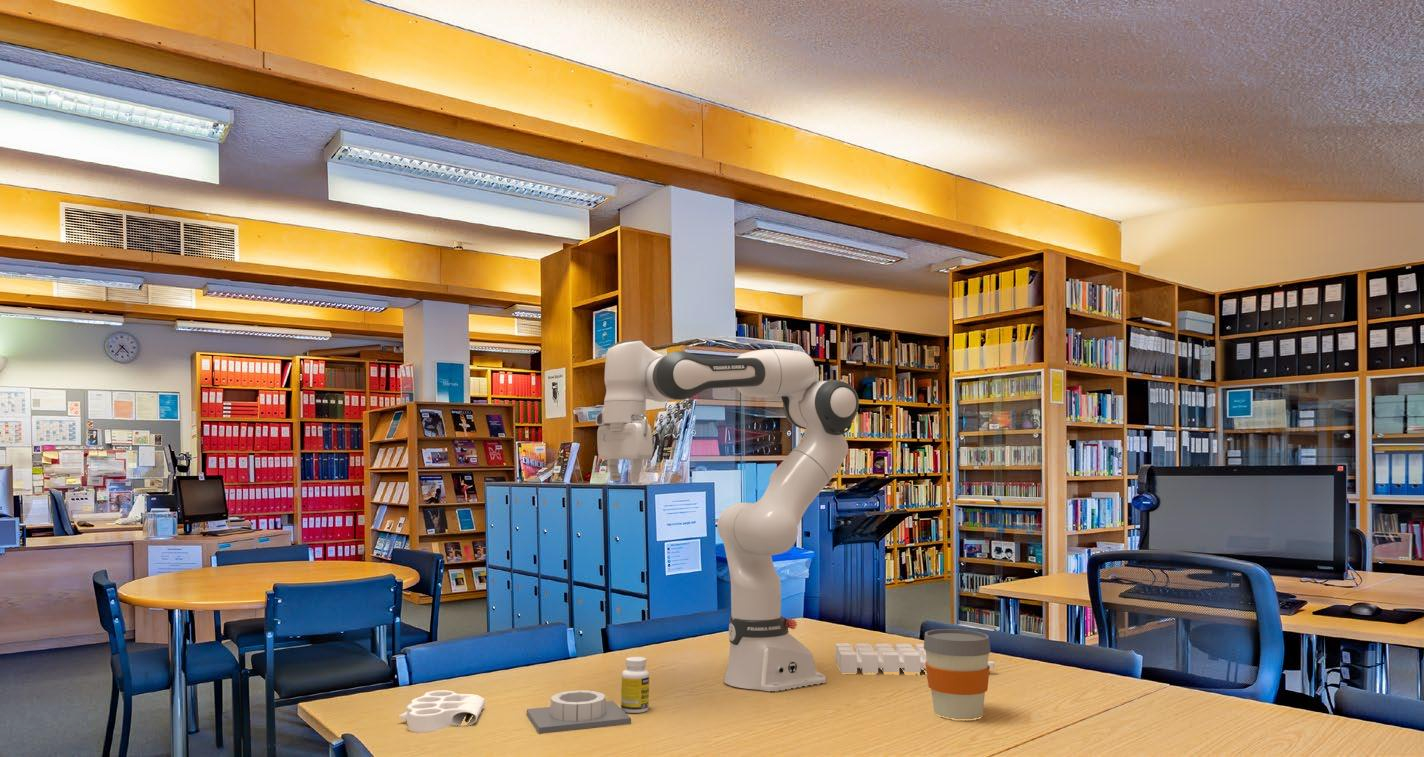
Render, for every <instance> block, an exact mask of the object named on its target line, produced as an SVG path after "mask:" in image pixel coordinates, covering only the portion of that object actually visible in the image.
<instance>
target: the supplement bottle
mask: <svg viewBox="0 0 1424 757" xmlns="http://www.w3.org/2000/svg"><path fill="white" fill-rule="evenodd" d="M646 666H647V658H645V657H643V656H630V657H629V656H628V657H627V658H626V659H625V667H626V669H624V670H623V671H622V673H621V688H620V689H621V691H620V692H621V694H620V697H621V698H620V708H621V709H622V710H623V711H624V712H625V713H626V714H627V713H628V714H630V713H631V714H642V713H645V712H647V711H648V710H649V708H650V707H649V706H650V703H649V702H650V672H649V670H648V669H646V668H645V667H646Z"/></svg>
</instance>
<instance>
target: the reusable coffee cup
mask: <svg viewBox="0 0 1424 757" xmlns="http://www.w3.org/2000/svg"><path fill="white" fill-rule="evenodd" d="M923 641H924V642H923V644H924V649H925V650H926V657H927V662H926V663H925V665H926V672H927V675H926V677H927V685H928V688H929V689H930V692H931V698H932V699H931V700H932V705H933V712H935V713H936V714H938V715H940V716H944V717H948V718H954V719H974V718H979V717H981V716H982V715H983V716H984V705H985V697H986V696H985V695H986V692H988V688H989V687H988V686H989V679H990V678H989V677H990V670H991V669H990V666H989V665H988V661H989V656H990V653H991V652H992V650H991V643H990V636H989V635H988V634H986V633H983V632H981V631H975V630H969V629H968V630H967V629H956V628H954V629H953V628H944V629H943V628H942V629H931V630H928V631H925V632H924V639H923ZM935 713H934V714H935Z"/></svg>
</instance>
